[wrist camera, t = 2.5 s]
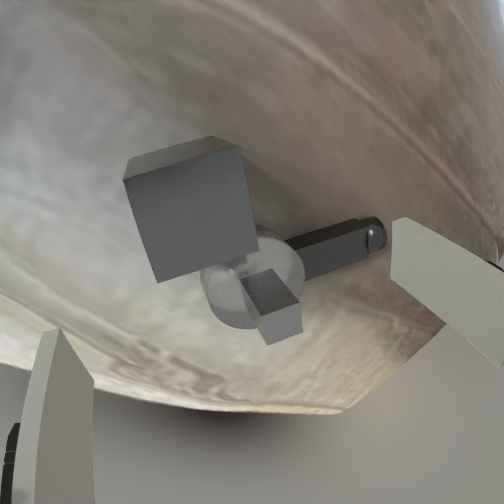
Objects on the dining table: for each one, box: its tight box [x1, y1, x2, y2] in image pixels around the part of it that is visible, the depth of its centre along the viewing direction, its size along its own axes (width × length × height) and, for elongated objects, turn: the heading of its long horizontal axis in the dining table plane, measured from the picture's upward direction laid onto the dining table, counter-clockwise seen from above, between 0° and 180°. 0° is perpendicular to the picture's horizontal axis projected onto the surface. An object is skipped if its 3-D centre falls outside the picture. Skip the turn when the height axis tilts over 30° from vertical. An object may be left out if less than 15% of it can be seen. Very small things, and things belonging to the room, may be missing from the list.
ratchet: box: [200, 217, 387, 346], centre depth 29 cm, size 19×9×10 cm, turn 102°
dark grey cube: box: [123, 136, 260, 283], centre depth 23 cm, size 7×7×8 cm
